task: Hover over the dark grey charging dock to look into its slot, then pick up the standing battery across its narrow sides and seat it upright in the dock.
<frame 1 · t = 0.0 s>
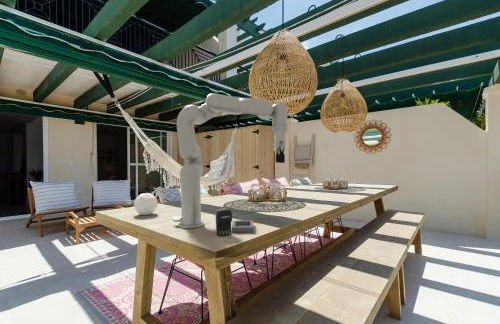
hand: (280, 162, 131), 31 cm above the table, tool pointing down, fingers open, 9 cm apart
dock: (242, 228, 124), on the table
battery: (224, 236, 113), on the table
geodesic sphere: (146, 214, 158), on the table
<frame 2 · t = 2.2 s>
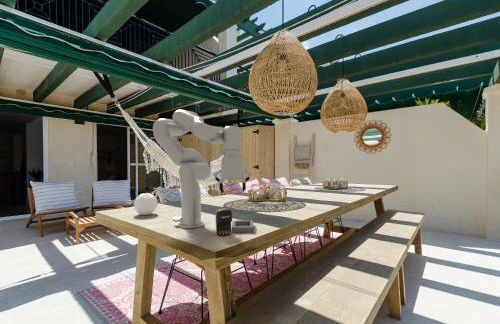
hand: (232, 191, 118), 18 cm above the table, tool pointing down, fingers open, 9 cm apart
nothing on the table moved.
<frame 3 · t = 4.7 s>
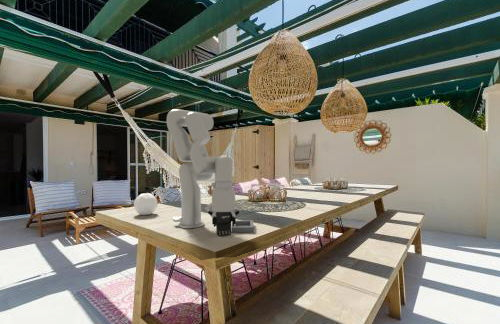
hand: (224, 225, 113), 4 cm above the table, tool pointing down, fingers closed on battery, 7 cm apart
battery: (224, 236, 113), on the table, touching gripper
everything else where it was.
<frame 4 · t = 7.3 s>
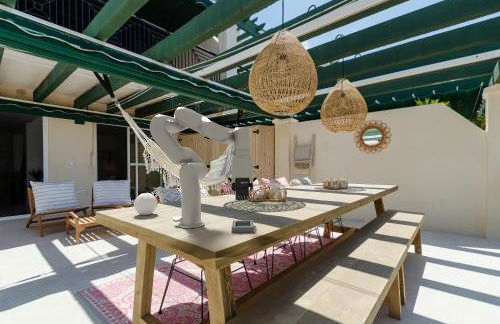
hand: (242, 191, 123), 18 cm above the table, tool pointing down, fingers closed on battery, 7 cm apart
battery: (242, 200, 123), point 13 cm above the table, touching gripper
everything else where it was.
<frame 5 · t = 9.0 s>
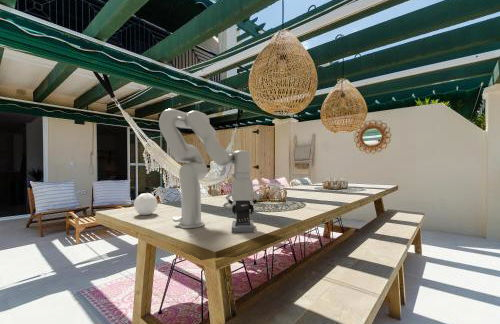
hand: (243, 213, 123), 7 cm above the table, tool pointing down, fingers closed on battery, 7 cm apart
battery: (243, 223, 123), point 3 cm above the table, touching gripper
everything else where it was.
when the fingers open (6 cm above the table, at t = 10.4 s): battery stays where it is, resting on dock.
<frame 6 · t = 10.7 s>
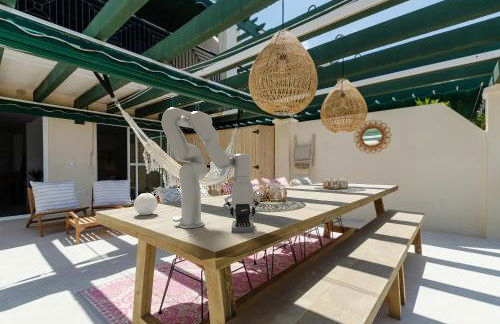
hand: (242, 215, 124), 6 cm above the table, tool pointing down, fingers open, 9 cm apart
battery: (243, 227, 124), point 1 cm above the table, touching dock
everything else where it was.
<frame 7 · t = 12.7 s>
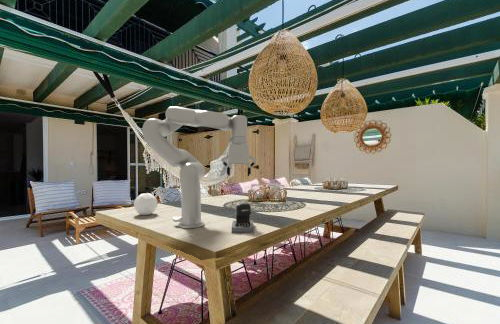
hand: (238, 175, 128), 25 cm above the table, tool pointing down, fingers open, 9 cm apart
nothing on the table moved.
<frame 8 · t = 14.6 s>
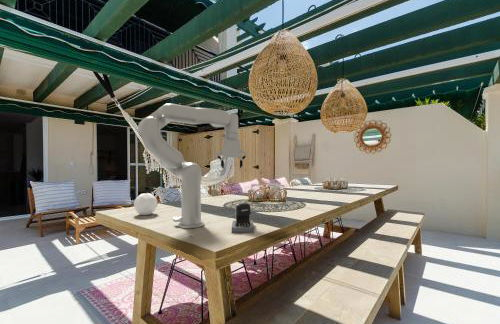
hand: (231, 167, 143), 28 cm above the table, tool pointing down, fingers open, 9 cm apart
nothing on the table moved.
at the end: battery inside the target area on the dock (0.2 cm from its centre), point 0.5 cm above the dock's base; battery tilted 0°; the gripper is holding nothing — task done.
